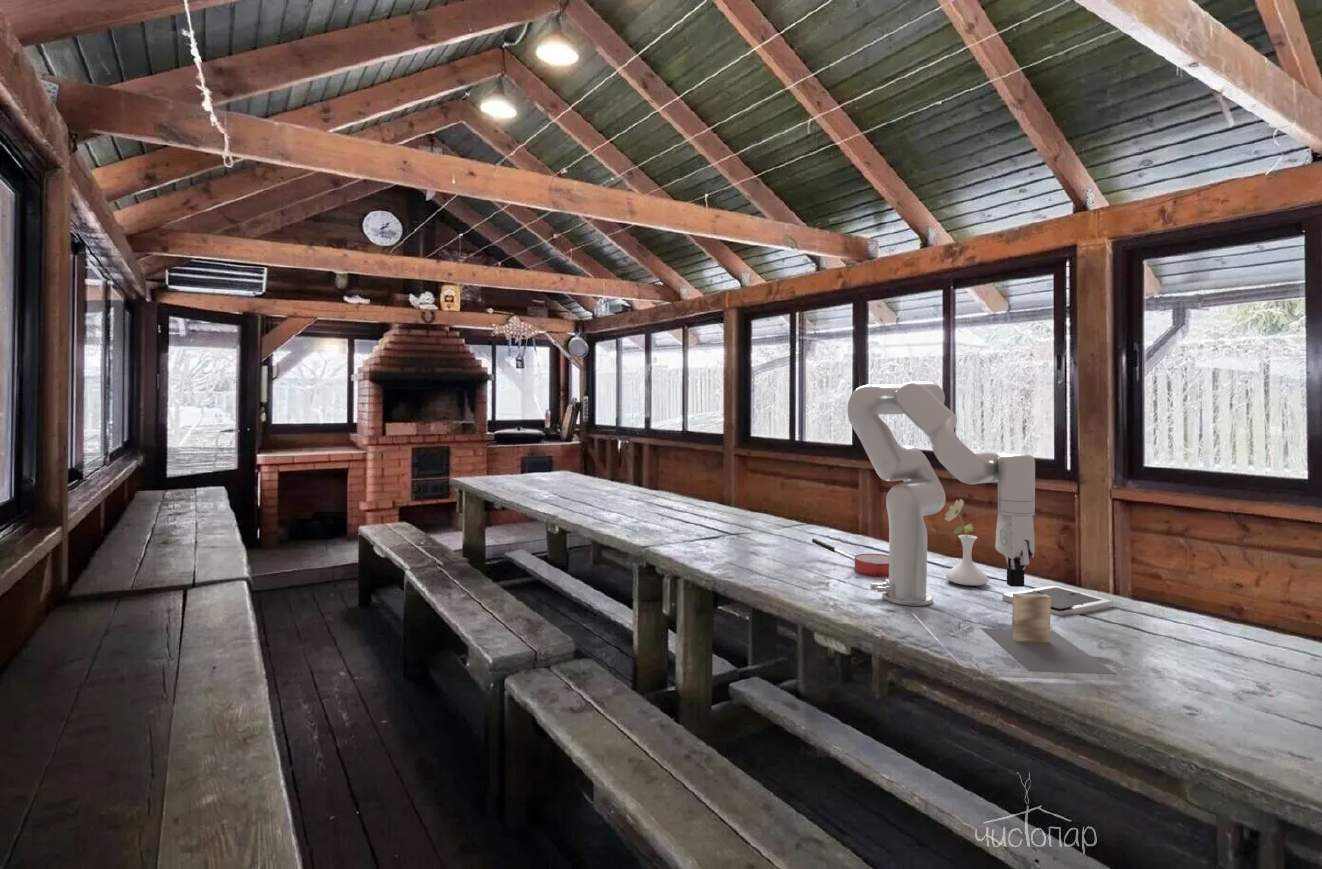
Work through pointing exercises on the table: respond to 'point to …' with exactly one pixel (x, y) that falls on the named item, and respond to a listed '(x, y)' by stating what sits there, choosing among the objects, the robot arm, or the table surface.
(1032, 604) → the tile
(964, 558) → the flower in vase
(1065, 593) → the picture frame
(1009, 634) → the rubber mat
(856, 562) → the frying pan
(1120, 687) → the table surface
